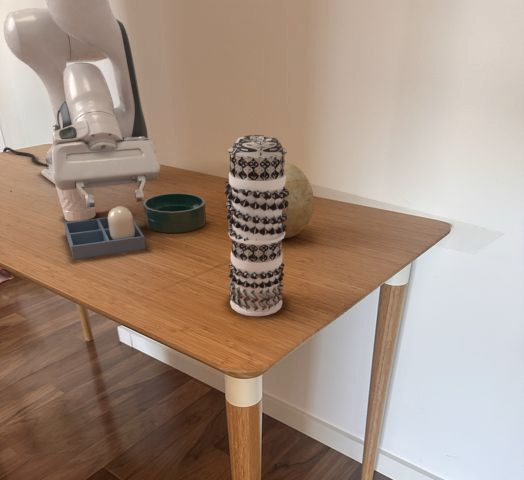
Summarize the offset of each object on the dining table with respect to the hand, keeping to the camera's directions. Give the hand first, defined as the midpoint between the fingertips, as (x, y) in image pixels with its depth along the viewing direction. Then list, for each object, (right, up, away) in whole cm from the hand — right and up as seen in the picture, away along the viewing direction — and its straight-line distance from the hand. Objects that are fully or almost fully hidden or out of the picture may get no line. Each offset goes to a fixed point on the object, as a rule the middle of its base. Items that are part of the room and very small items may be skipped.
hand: (116, 202), depth 97 cm
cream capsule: (+1, -8, +2) cm, 8 cm away
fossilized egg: (+32, -5, +8) cm, 34 cm away
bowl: (+9, -1, +13) cm, 16 cm away
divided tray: (-3, -7, +4) cm, 9 cm away
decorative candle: (+27, -21, -16) cm, 38 cm away
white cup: (-13, +1, +16) cm, 21 cm away
